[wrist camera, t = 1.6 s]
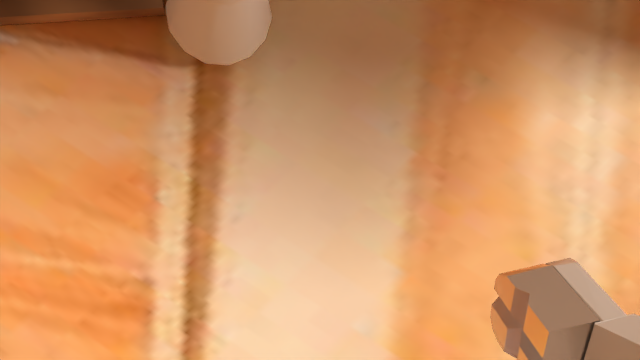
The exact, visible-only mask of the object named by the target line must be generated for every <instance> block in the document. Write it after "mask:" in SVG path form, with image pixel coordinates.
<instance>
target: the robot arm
mask: <svg viewBox="0 0 640 360" xmlns="http://www.w3.org/2000/svg"><path fill="white" fill-rule="evenodd" d="M494 289H495V291H496V292H497V294H498V295H499V297H498V298H497V299H496V301H495V302H494V303H493V304H492V307H491V322H492V327H493V332H494V334H495V336H496V339H497V341H498V343H499V344H500V346H501V347H502V349H503V351H504V352H506V353H508V354H510V355H511V356H513V357H515V358H517V360H640V316H638V315H636V314H630V315H627V314H626V313H625V312H624V311H623V310H622V309H621V308H620V307H619V306H618V305H617V304H616V303H615V302H614V301H613V300H612V298H611V297H610V296H609V295H608V294H607V293H606V292H605V291H604V290H603V289H602V288H601V287H600V286H599V285H598V284H597V282H596V281H595V280H594V279H593V278H592V277H591V276H590V275H589V274H588V273H587V272H586V271H585V270H584V269H583V268H582V267H581V265H580V264H579V263H578V262H577V261H575V260H573V259H571V258H568V259H563V260H559V261H554V262H550V263H546V264H540V265H536V266H532V267H527V268H523V269H519V270H514V271H510V272H506V273H501V274H499V275H498V277H497V278H496V281H495V287H494Z"/></svg>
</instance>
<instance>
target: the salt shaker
mask: <svg viewBox="0 0 640 360" xmlns="http://www.w3.org/2000/svg"><path fill="white" fill-rule="evenodd" d="M165 9H166V15H167V21H168V27H169V32H170V33H171V34H172V36H173V37H174V38H175V40H176V41H177V42H178V44H179V45H180V46H181V48H182V49H183V50H184V51H185V52H186V53H188V54H190V55H191V56H193V57H195V58H197V59H198V60H200V61H202V62H204V63H205V64H217V65H231V64H234V63H236V62H239V61H241V60H244V59H247V58H249V57H251V55H252V54H253V53H254V52H255V51H256V50H257V49H258V48H259V47H260V46H261V44H262V43H263V42H264V41H265V40H266V37H267V34H268V30H269V27H270V23H271V20H272V14H271V9H270V4H269V0H167V3H166V6H165Z"/></svg>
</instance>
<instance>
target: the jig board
mask: <svg viewBox="0 0 640 360" xmlns="http://www.w3.org/2000/svg"><path fill="white" fill-rule="evenodd" d="M162 15H165V7H164V0H0V25H12V24H29V23H46V22H62V21H79V20H96V19H112V18H129V17H146V16H162Z"/></svg>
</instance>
